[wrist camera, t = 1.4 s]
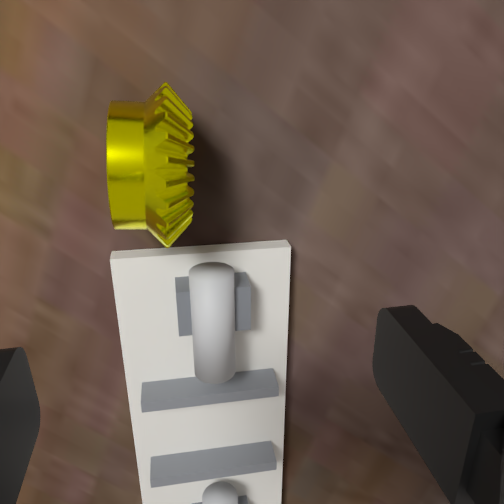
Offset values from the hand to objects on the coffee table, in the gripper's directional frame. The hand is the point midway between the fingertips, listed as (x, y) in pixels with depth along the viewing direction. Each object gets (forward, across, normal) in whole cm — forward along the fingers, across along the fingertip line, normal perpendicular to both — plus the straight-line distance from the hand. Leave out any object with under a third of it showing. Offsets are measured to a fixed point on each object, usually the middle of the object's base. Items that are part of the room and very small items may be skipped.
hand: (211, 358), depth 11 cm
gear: (+19, +2, -1) cm, 19 cm away
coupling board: (+18, -1, +18) cm, 26 cm away
